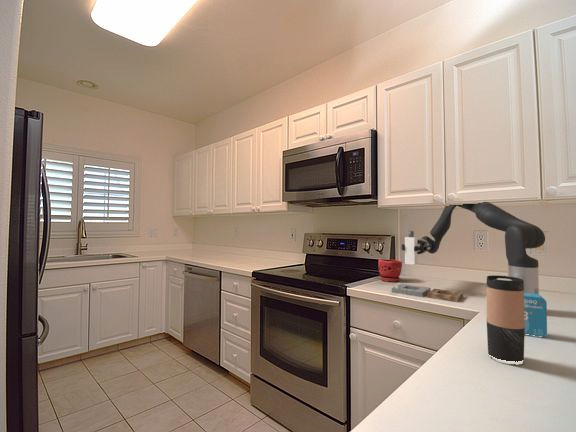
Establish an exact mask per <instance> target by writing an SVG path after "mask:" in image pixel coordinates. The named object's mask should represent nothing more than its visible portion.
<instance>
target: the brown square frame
mask: <svg viewBox="0 0 576 432" xmlns="http://www.w3.org/2000/svg"><path fill="white" fill-rule="evenodd" d="M426 295H427V298H430V299H434V300H435V299H437V300H443V301H449V302H454V303H459V301H460V300H461V299H462V298H464V292H463V291H462V292H461V291H456V290H455V291H454V290H447V289H441V288H433V289H431V291H430V292H428V293H427V294H426Z"/></svg>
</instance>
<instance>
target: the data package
mask: <svg viewBox="0 0 576 432" xmlns="http://www.w3.org/2000/svg"><path fill="white" fill-rule="evenodd" d="M547 304H548V303H547V300H546V299H545V298H544V297H542V295H540V294H539V295H538V294H530V293H524V319H525V327H524V328H525V334H529V335H535V336H542V337H543V338H545V337H546V336H547V335H548V314H547V313H548V312H547V311H548V310H547V309H548V305H547Z"/></svg>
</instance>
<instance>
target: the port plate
mask: <svg viewBox="0 0 576 432" xmlns="http://www.w3.org/2000/svg"><path fill="white" fill-rule="evenodd" d="M431 290H432V289H431V286H430V287H428V286H422V285H420V286H419V285H415V284H407V283H400V284H398V285H396V286H394V287H391V293H395V294H401V295H406V296H407V295H408V296H413V297H419V298H423V297H425V296H426V295H427V293H428V292H430V291H431Z"/></svg>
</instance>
